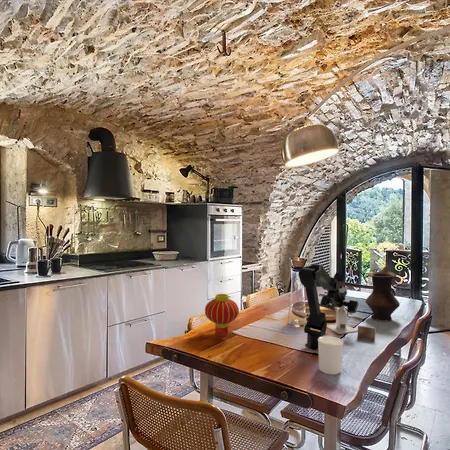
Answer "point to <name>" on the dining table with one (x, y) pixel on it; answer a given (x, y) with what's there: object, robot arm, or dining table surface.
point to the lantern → (221, 312)
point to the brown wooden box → (366, 333)
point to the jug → (382, 295)
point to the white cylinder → (330, 354)
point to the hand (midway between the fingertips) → (342, 312)
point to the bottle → (341, 318)
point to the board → (348, 330)
